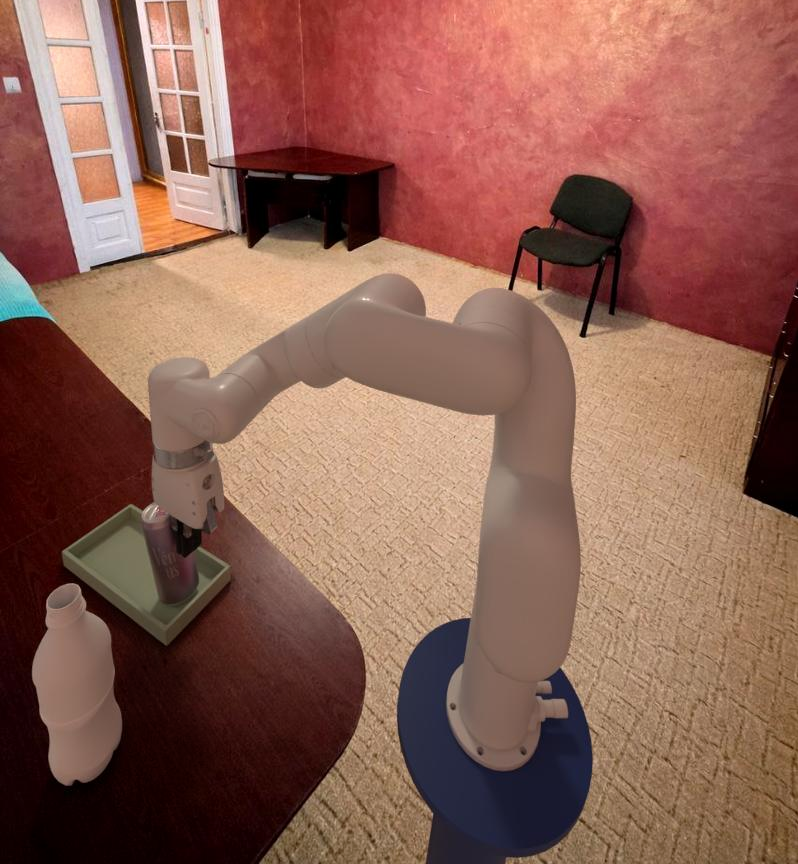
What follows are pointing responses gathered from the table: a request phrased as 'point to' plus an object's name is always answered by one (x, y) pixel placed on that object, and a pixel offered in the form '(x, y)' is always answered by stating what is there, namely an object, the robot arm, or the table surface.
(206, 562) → the tray
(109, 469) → the table surface
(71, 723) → the water bottle
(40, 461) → the table surface
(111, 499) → the table surface
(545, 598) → the robot arm
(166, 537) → the beverage can
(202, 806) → the table surface
